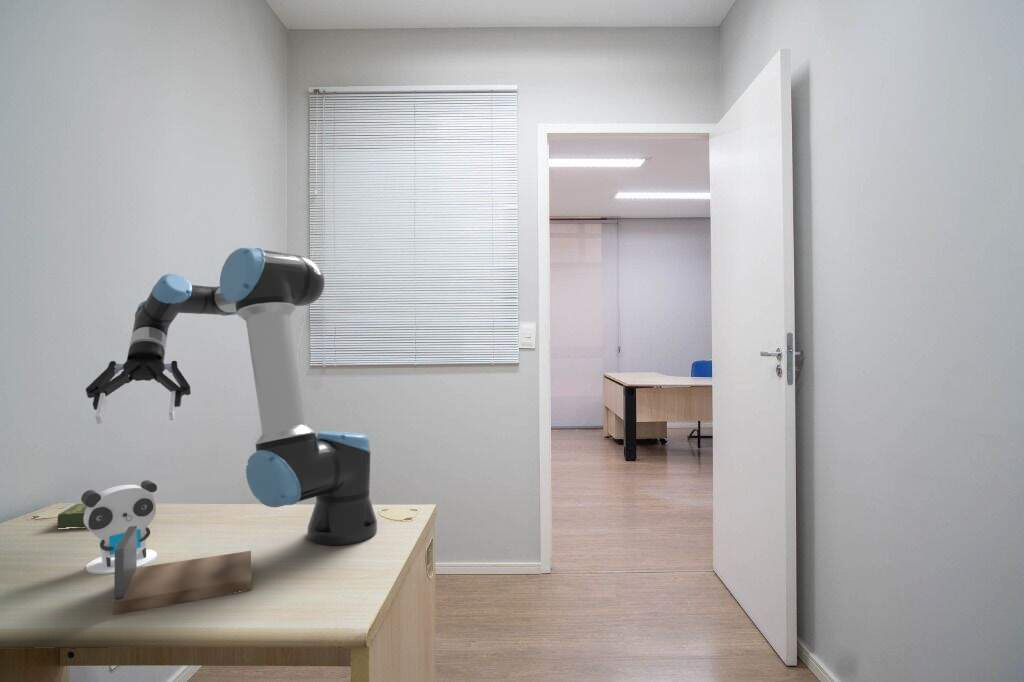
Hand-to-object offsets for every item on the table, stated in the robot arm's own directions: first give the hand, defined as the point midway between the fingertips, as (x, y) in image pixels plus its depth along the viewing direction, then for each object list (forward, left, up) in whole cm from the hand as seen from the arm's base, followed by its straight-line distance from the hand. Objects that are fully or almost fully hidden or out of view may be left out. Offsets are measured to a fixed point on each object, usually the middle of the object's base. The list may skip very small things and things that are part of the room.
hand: (135, 418), depth 122 cm
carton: (+8, -13, -27) cm, 31 cm away
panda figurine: (0, +17, -26) cm, 31 cm away
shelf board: (-13, +34, -26) cm, 45 cm away
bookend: (-4, +34, -24) cm, 42 cm away
